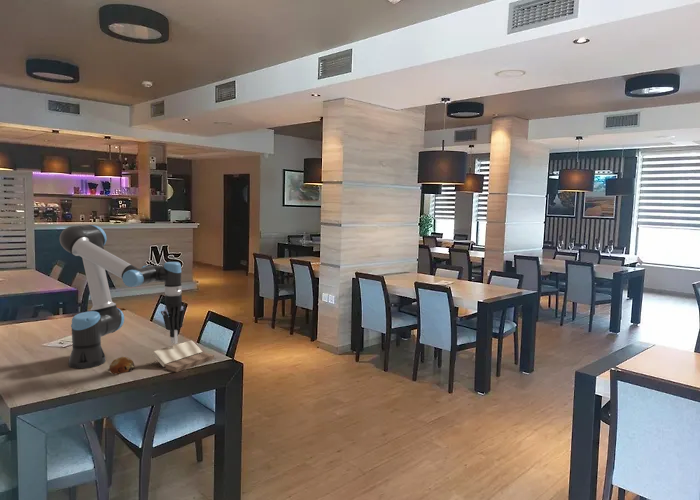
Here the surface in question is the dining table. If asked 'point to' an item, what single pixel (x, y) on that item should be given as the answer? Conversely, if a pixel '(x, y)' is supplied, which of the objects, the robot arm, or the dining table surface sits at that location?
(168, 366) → the walnut plank
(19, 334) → the dining table surface
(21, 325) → the dining table surface
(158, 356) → the cream corrugated panel
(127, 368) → the bread roll
